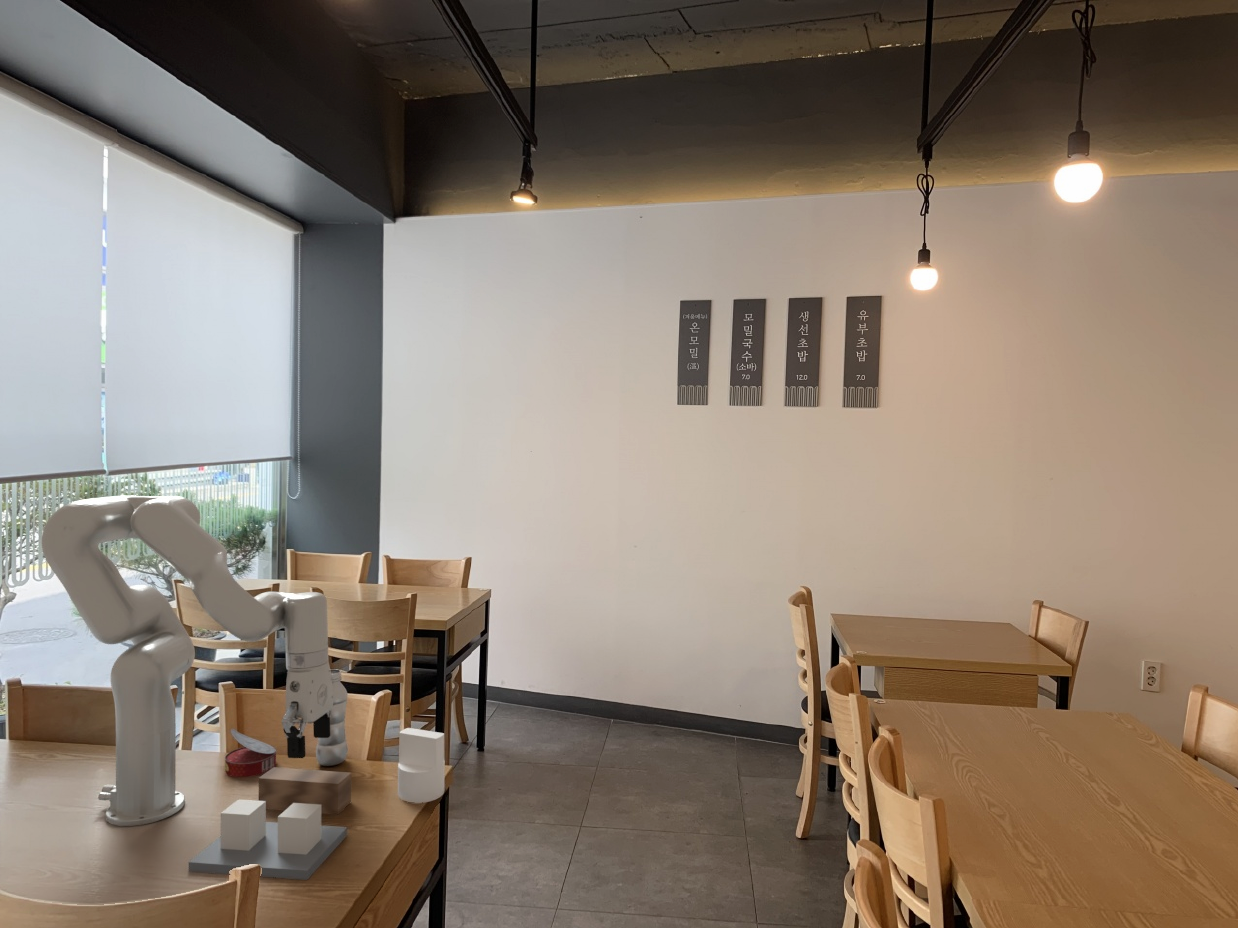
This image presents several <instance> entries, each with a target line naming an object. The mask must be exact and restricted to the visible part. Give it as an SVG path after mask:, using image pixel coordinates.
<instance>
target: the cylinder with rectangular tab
mask: <svg viewBox="0 0 1238 928" xmlns="http://www.w3.org/2000/svg"><path fill="white" fill-rule="evenodd" d="M398 733H399V738H398V741H399V743H398V745H399V746H398V747H399V748H398V764H397V797H398V796H399V797H400V798H401V799H403V800H406V801H409V802H415V803H414V804H422V802H423V803H428V802H432V801H435V800H437V799H439V798H441V797H442V796H443V795H444V793H445V771H446V770H445V768H446V767H445V766H446V765H445V764H446V763H445V733H443V732H437V731H433V730H432V731H431V730H426V729H425V730H424V729H419V728H413V727H407V728H404V729H402V730H401V731H399V732H398ZM399 797H398V798H399Z"/></svg>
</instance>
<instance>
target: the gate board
mask: <svg viewBox="0 0 1238 928" xmlns="http://www.w3.org/2000/svg"><path fill="white" fill-rule="evenodd" d="M266 815H267V809H266V801H259V800H251V799H237V800H236V801H234V802H233V803H232V804H230V805H229V806H228V807H227V808H225V809H224V810H223V811H221V812H220V835H219V836H218V837H217V838H216V839H215V840H214V841H213V842H211V843H210V844H209V845H208V846H207V847H204V849H202V851H201V852H199V853H198V854H197V855H196V856H194V857H193V858H192V859H190V861H189V862H188V872H192V873H208V874H210V873H211V874H220V875H230V874H229V871H230V870H232V869H233V868H236V867H241V866H244V865H249V864H260V865H261V868H262V874H261V877H263V878H273V877H274V878H275V877H276V878H277V879H289V880H304V881H308V880H309V878H310V877H311V876H312V875H313V874H314V873H315V872H316V871H317V869H319V868H320V866H321V865H322V864H323V863H324V862H325V861H326V860H327V858H329V856H330V855H331V854H332V853H333V852H334V851H335V850H336V848H338V847H339V845H340V844H341V843H342V841H344V839H345V838H346V837H347V835H348V827H346V826H332V825H322V813H321V805H320V804H304V803H293V804H292V805H291V806H289V807H288V808H287V809H286V810H283V812H282V813H280V814H279V815H278V816H277V822H272V821H266V820H267V817H266ZM261 877H260V878H261Z"/></svg>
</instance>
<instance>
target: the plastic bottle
mask: <svg viewBox="0 0 1238 928" xmlns="http://www.w3.org/2000/svg"><path fill="white" fill-rule="evenodd" d="M330 671H331V678H332V689H333V707H332V708H331V709H330V710H331V715H330V716H328V717H330V737H329V738H317V744H316V747H315V756H316V761H317V763H318V764H319V765H320V766H323V767H329V766H331V767H332V766H336V765H339V764H341V763H343V762H344V761H345V760H346V758H347V756H348V742H347V739H346V725H345V724H346V711H347V710H346V709H347V704H348V697H349V696H348V691H347V689H346V688H345V686H344V685H343V683H342V682H341V680H342V679H343V678H342V670H341V669H337V668H336V669H335V668H334V669H333V668H332V669H330Z"/></svg>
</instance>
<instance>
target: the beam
mask: <svg viewBox="0 0 1238 928" xmlns="http://www.w3.org/2000/svg"><path fill="white" fill-rule="evenodd" d="M258 801H266V810H274V811H275V810H276V811H285V810H286V809H287V808H288V807H289V806H291V805H292V804H293V803H304V804H320V805H321V814H326V815H336V816H337V815H340V814H341V812H343V811H344V810H345V809H346V808H347V807H348V806H349V805H350V804H351V803H352V772H347V771H346V772H345V771H331V770H330V771H329V770H317V769H307V768H306V769H305V768H304V769H302V768H292V767H290V768H289V767H278V766H275V767H273V768H272V769H271V770H269V771H267V772H265V773H263V775H261V776H259V777H258ZM350 802H351V803H350ZM349 803H350V804H349ZM348 804H349V805H348ZM347 805H348V806H347ZM346 806H347V807H346ZM345 807H346V808H345ZM344 808H345V809H344ZM343 809H344V810H343Z"/></svg>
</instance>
